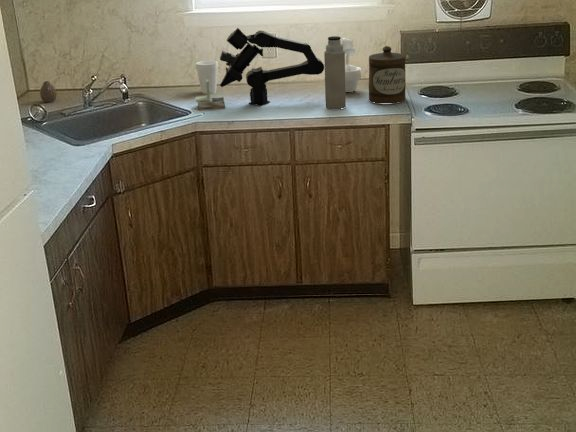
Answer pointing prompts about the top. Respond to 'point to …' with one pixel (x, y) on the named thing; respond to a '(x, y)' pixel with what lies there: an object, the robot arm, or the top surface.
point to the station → (212, 104)
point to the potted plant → (350, 67)
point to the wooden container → (387, 77)
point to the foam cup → (207, 75)
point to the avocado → (48, 92)
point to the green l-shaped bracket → (204, 98)
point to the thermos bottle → (334, 74)
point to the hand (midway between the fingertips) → (220, 86)
